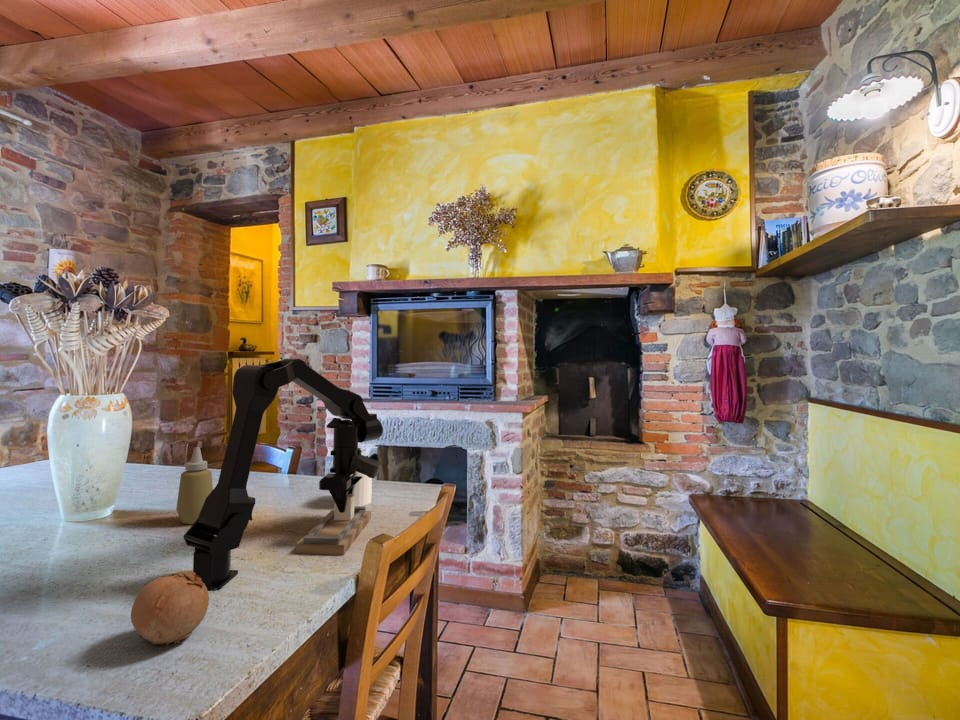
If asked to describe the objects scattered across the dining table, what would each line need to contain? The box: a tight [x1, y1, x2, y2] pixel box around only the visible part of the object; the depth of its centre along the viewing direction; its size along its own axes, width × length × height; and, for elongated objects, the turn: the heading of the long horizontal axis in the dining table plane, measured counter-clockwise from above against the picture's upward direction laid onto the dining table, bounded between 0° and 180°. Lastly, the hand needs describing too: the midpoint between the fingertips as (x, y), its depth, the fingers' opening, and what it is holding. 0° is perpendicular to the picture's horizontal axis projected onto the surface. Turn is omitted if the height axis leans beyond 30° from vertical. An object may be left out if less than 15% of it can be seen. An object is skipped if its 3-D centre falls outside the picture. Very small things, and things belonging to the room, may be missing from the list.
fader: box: [333, 494, 355, 521], centre depth 114 cm, size 3×4×6 cm
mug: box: [334, 472, 373, 507], centre depth 135 cm, size 13×10×10 cm
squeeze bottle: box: [175, 446, 214, 525], centre depth 116 cm, size 8×8×18 cm
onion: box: [130, 570, 210, 646], centre depth 69 cm, size 10×9×10 cm
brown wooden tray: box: [295, 506, 372, 556], centre depth 110 cm, size 22×10×3 cm, turn 179°
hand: (344, 510), depth 114 cm, fingers closed on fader, 3 cm apart
